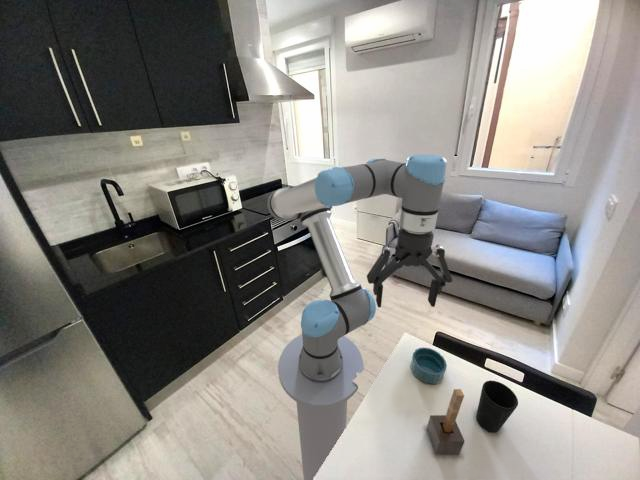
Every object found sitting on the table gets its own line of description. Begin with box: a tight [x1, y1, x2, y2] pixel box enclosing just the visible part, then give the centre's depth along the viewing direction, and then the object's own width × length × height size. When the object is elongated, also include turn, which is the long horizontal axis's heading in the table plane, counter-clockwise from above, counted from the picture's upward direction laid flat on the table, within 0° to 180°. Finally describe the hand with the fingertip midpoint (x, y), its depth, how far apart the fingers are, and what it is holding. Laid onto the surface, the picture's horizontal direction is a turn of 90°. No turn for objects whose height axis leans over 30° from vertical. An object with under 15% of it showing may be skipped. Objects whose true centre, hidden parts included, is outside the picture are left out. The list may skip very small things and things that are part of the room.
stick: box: [442, 388, 465, 433], centre depth 62 cm, size 2×2×20 cm
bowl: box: [410, 347, 447, 385], centre depth 84 cm, size 10×10×5 cm
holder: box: [426, 414, 465, 456], centre depth 65 cm, size 6×6×6 cm
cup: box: [475, 380, 519, 434], centre depth 68 cm, size 8×8×12 cm
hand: (404, 303), depth 66 cm, fingers open, 13 cm apart
